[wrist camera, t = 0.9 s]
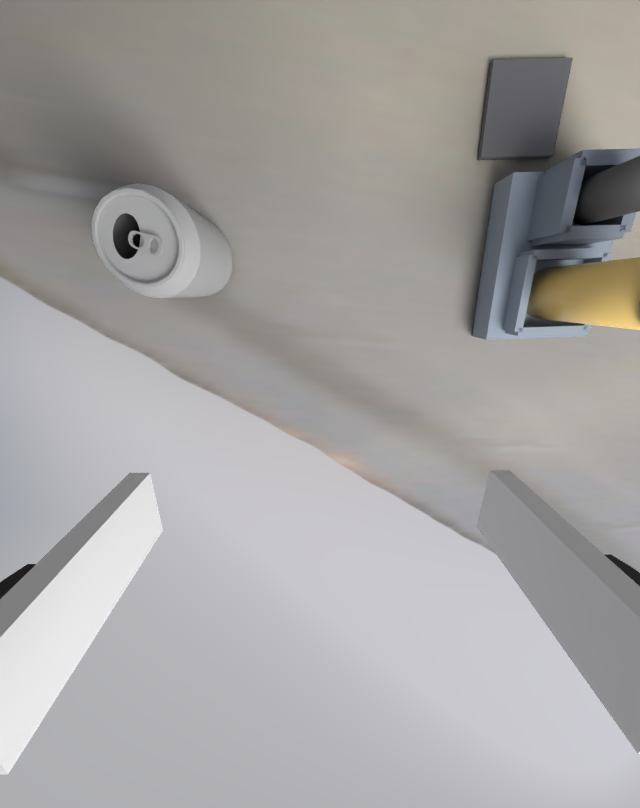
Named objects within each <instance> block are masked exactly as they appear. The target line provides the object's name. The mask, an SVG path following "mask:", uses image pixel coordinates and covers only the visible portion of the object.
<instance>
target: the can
mask: <svg viewBox="0 0 640 808" xmlns="http://www.w3.org/2000/svg"><path fill="white" fill-rule="evenodd" d="M91 231H92V241H93V244H94V246H95V249H96V251H97V254H98V257H99V258H100V259H101V261H102V262H103V264H104V265H105V267H106V268H107V269H108V270H109V271H110V272H111V273H112V274H113V275H114V277H116V278H117V279H118V280H119V281H120V282H121V283H123V284H124V285H125V286H126V287H127V288H128V289H131V290H133V291H135V292H137V293H139V294H141V295H143V296H149V297H155V298H182V297H204V296H210V295H213V294H215V293H216V292H218V291H220V290H221V289H222V288H223V287H224V286H225V284H226V283H227V282H228V280H229V277H230V275H231V272H232V260H233V258H232V254H231V250H230V246H229V244H228V242H227V240H226V238H225V237H224V235H223V234H222V232H221V231H220V230H219V229H218V228H217V227H216V226H215V225H214V224H212V223H211V222H209V221H208V220H206V219H205V218H204V217H202V216H201V215H199V214H198V213H196V212H195V211H194V210H192V209H191V208H189V207H188V206H186V205H185V204H184V203H182V202H181V201H179V200H178V199H176V198H175V197H174V196H172V195H170V194H169V193H167V192H165V191H163V190H161V189H160V188H158V187H156V186H151V185H146V184H140V183H136V184H130V185H125V186H121V187H120V188H118V189H114V190H112V191H111V192H109V193H108V194H106V195H105V196H103V197H102V198H101V200H100V201H99V203H98V204H97V206H96V207H95V209H94V212H93V217H92V222H91Z"/></svg>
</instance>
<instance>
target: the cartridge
mask: <svg viewBox="0 0 640 808" xmlns="http://www.w3.org/2000/svg"><path fill="white" fill-rule="evenodd" d="M526 313H527V314H528V315H529V316H531V317H533V318H536V319H545V320H554V321H563V322H572V323H581V324H590V325H599V326H608V327H618V328H627V329H636V330H640V257H639V258H630V259H621V260H612V261H603V262H594V263H585V264H576V265H567V266H558V267H549V268H545V269H542V270H540V271H539V272H537V273H536V274H534V276H533V281H532V286H531V291H530V296H529V301H528V306H527V311H526Z"/></svg>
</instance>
